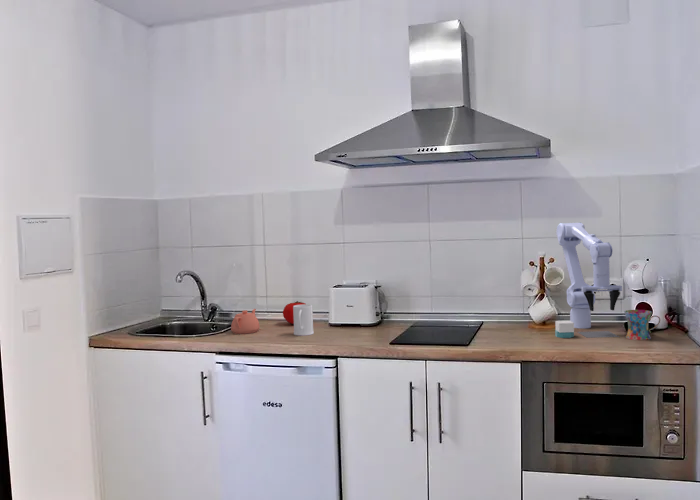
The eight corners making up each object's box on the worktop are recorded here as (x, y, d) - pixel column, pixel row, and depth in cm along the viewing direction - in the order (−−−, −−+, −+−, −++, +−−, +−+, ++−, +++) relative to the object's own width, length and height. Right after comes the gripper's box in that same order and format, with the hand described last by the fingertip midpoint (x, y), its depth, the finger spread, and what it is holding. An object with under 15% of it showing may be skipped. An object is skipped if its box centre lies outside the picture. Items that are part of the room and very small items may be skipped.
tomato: (309, 325, 298) (308, 302, 297) (282, 326, 297) (281, 303, 297) (310, 321, 311) (309, 299, 310) (284, 322, 311) (283, 299, 310)
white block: (555, 330, 250) (555, 321, 249) (569, 329, 249) (569, 320, 249) (559, 332, 244) (559, 323, 244) (574, 332, 244) (574, 323, 244)
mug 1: (308, 337, 269) (306, 308, 269) (288, 337, 271) (287, 308, 271) (316, 332, 281) (315, 304, 280) (297, 331, 283) (296, 304, 282)
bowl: (554, 337, 250) (553, 329, 250) (570, 337, 250) (570, 329, 250) (558, 340, 244) (558, 332, 244) (575, 340, 244) (575, 332, 244)
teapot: (223, 335, 282) (222, 313, 281) (244, 327, 299) (243, 307, 298) (248, 335, 278) (247, 313, 277) (268, 328, 294) (267, 307, 294)
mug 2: (624, 342, 237) (623, 313, 237) (624, 337, 246) (624, 309, 245) (660, 343, 232) (660, 314, 232) (660, 339, 241) (660, 310, 240)
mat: (577, 334, 255) (577, 331, 255) (608, 333, 254) (608, 331, 254) (586, 340, 243) (586, 337, 243) (619, 339, 242) (619, 336, 242)
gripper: (585, 276, 245) (585, 312, 245) (624, 275, 244) (625, 311, 245) (579, 274, 252) (580, 309, 252) (618, 273, 251) (618, 308, 252)
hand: (601, 310), depth 249 cm, fingers open, 7 cm apart
